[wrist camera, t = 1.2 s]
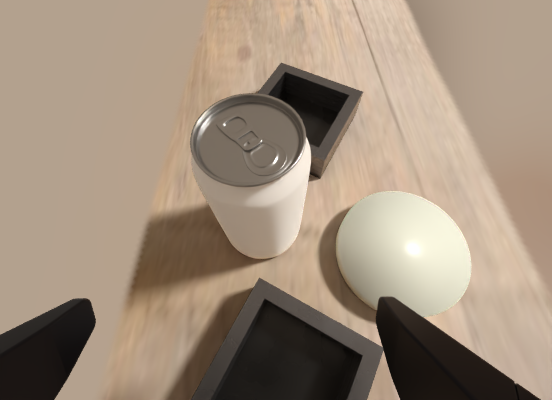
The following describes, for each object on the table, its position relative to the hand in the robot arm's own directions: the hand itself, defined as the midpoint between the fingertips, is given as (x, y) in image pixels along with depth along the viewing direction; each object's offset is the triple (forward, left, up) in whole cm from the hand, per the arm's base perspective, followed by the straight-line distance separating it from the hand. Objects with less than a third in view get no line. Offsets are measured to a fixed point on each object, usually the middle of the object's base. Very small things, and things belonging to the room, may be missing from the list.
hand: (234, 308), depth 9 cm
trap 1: (+18, +6, -13) cm, 23 cm away
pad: (+10, -7, -13) cm, 18 cm away
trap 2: (-2, -3, -13) cm, 14 cm away
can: (+7, +4, -14) cm, 16 cm away
